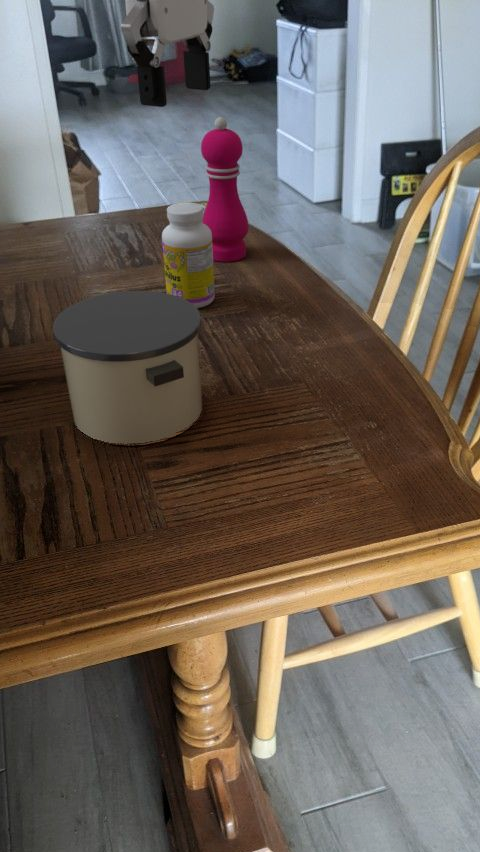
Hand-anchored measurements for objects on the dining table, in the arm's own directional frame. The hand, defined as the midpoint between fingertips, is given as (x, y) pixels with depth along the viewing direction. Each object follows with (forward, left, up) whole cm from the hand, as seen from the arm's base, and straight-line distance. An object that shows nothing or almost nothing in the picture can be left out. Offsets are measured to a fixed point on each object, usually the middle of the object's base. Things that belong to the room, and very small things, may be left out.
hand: (176, 96), depth 91 cm
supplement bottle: (+1, +2, -27) cm, 27 cm away
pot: (-18, -20, -26) cm, 38 cm away
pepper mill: (+14, +14, -27) cm, 33 cm away
